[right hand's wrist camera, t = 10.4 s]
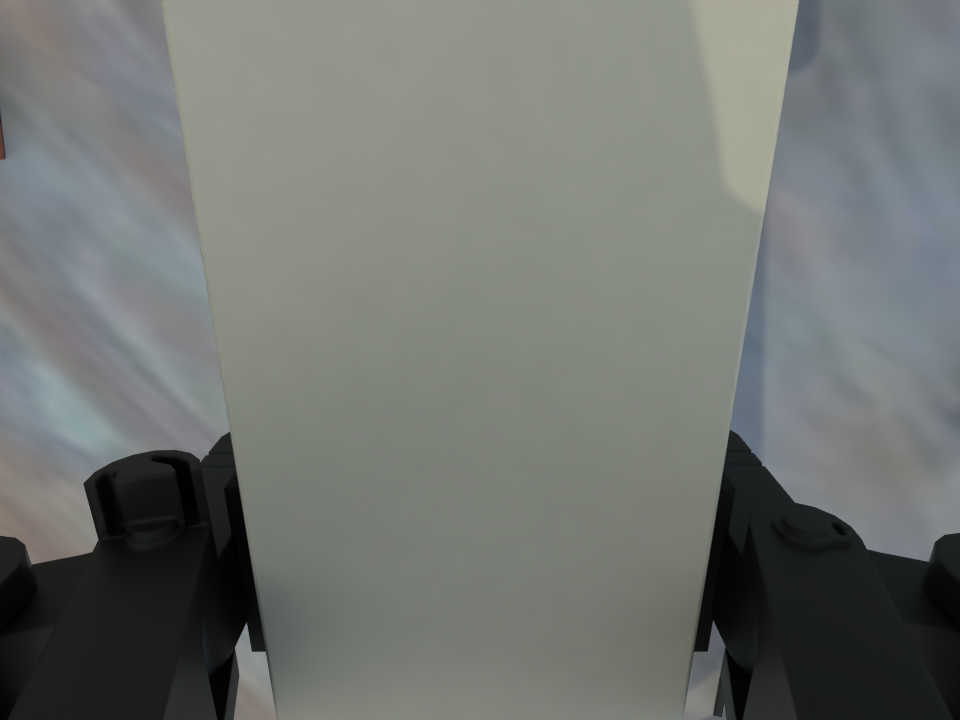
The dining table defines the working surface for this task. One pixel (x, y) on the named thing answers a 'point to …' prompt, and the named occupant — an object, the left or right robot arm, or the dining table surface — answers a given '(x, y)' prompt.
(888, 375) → the dining table surface
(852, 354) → the dining table surface
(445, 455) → the beam
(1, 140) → the terracotta block
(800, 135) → the dining table surface
